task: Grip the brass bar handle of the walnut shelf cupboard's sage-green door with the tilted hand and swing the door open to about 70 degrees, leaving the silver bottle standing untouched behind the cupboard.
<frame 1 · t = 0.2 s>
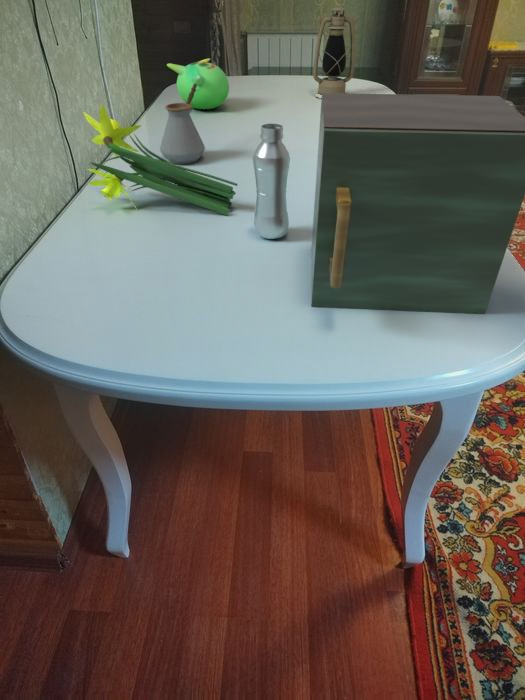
daffodil flowers: (165, 203, 110), on the table
cupboard door: (415, 240, 68), point 13 cm above the table, hinge at 0.0°
silver bottle: (271, 236, 98), on the table
cupboard: (389, 276, 86), on the table
coffee pot: (189, 153, 136), on the table
lantern: (331, 96, 186), on the table
toy bird: (203, 109, 172), on the table
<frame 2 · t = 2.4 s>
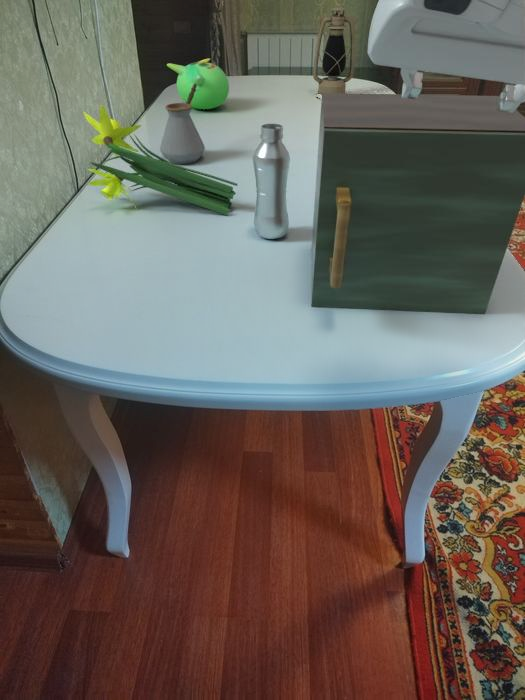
hand: (456, 99, 50), 32 cm above the table, tool tilted 40°, fingers open, 8 cm apart
nothing on the table moved.
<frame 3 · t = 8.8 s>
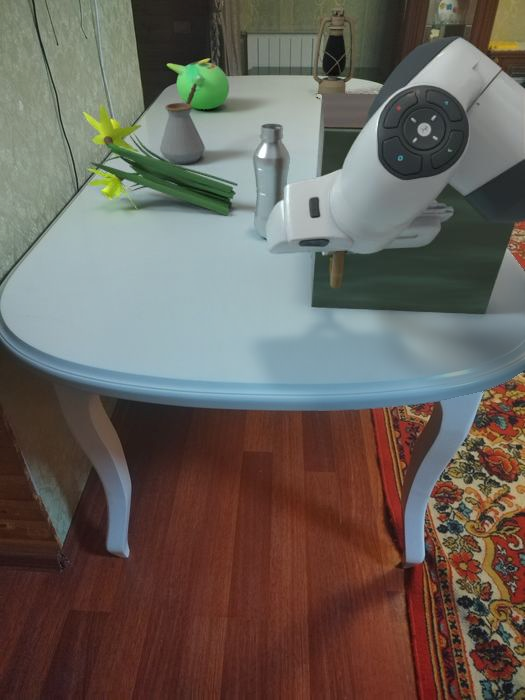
hand: (338, 249, 68), 12 cm above the table, tool tilted 45°, fingers closed on cupboard door, 2 cm apart
cupboard door: (415, 240, 68), point 13 cm above the table, hinge at 0.0°, touching gripper
everything else where it was.
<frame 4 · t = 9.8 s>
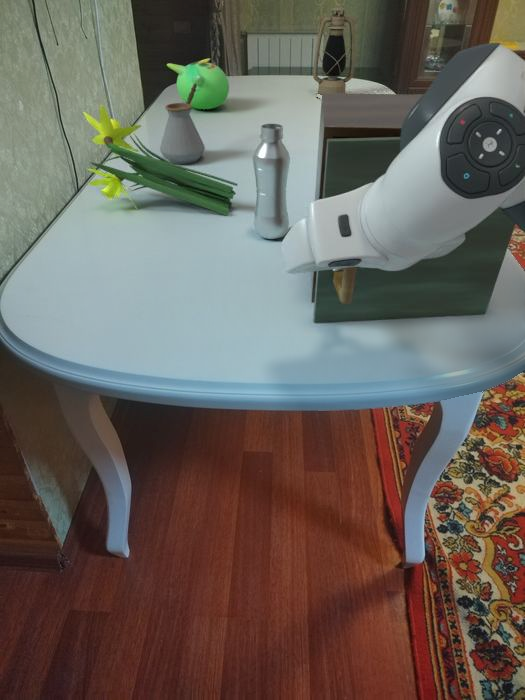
hand: (349, 263, 65), 12 cm above the table, tool tilted 45°, fingers closed
cupboard door: (423, 247, 66), point 13 cm above the table, hinge at 9.3°, touching gripper
everything else where it was.
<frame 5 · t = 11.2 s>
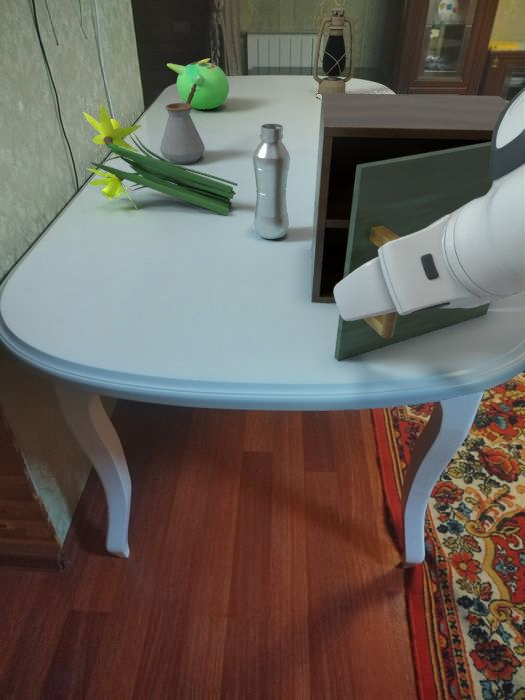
hand: (389, 295, 59), 12 cm above the table, tool tilted 45°, fingers closed on cupboard door, 2 cm apart
cupboard door: (449, 263, 63), point 13 cm above the table, hinge at 29.3°, touching gripper
everything else where it was.
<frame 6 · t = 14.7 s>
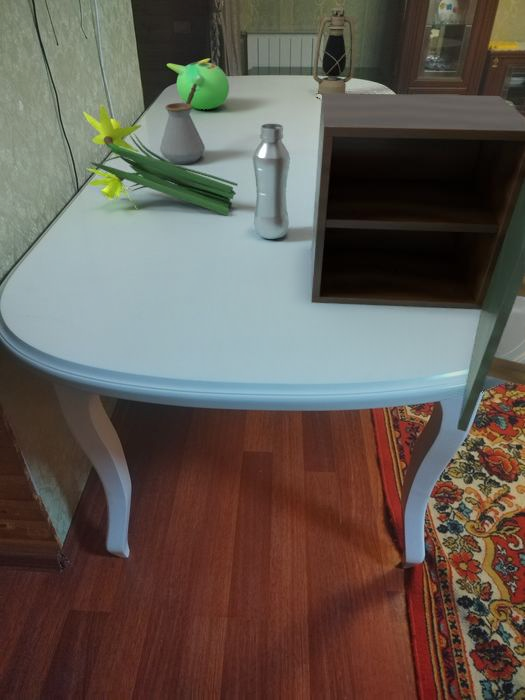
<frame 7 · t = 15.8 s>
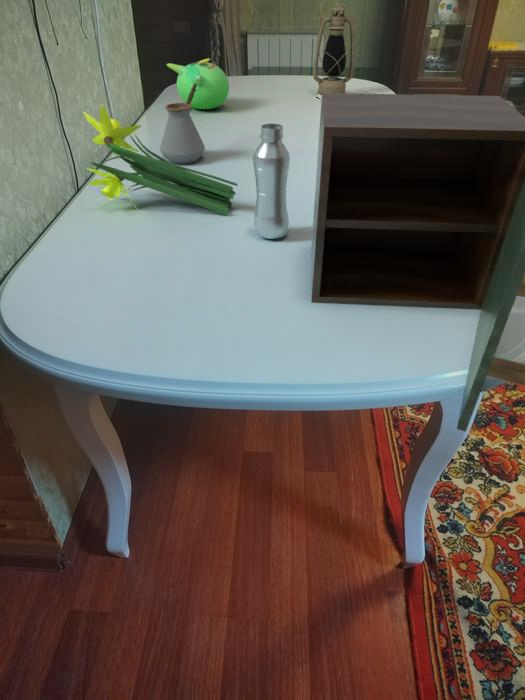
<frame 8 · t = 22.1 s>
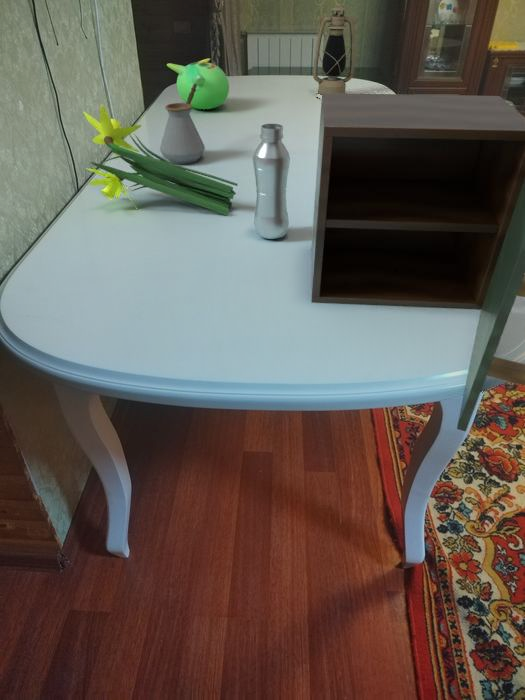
at the end: cupboard door at +70° (first picture: +0°); silver bottle moved 0.2 cm from its start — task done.
